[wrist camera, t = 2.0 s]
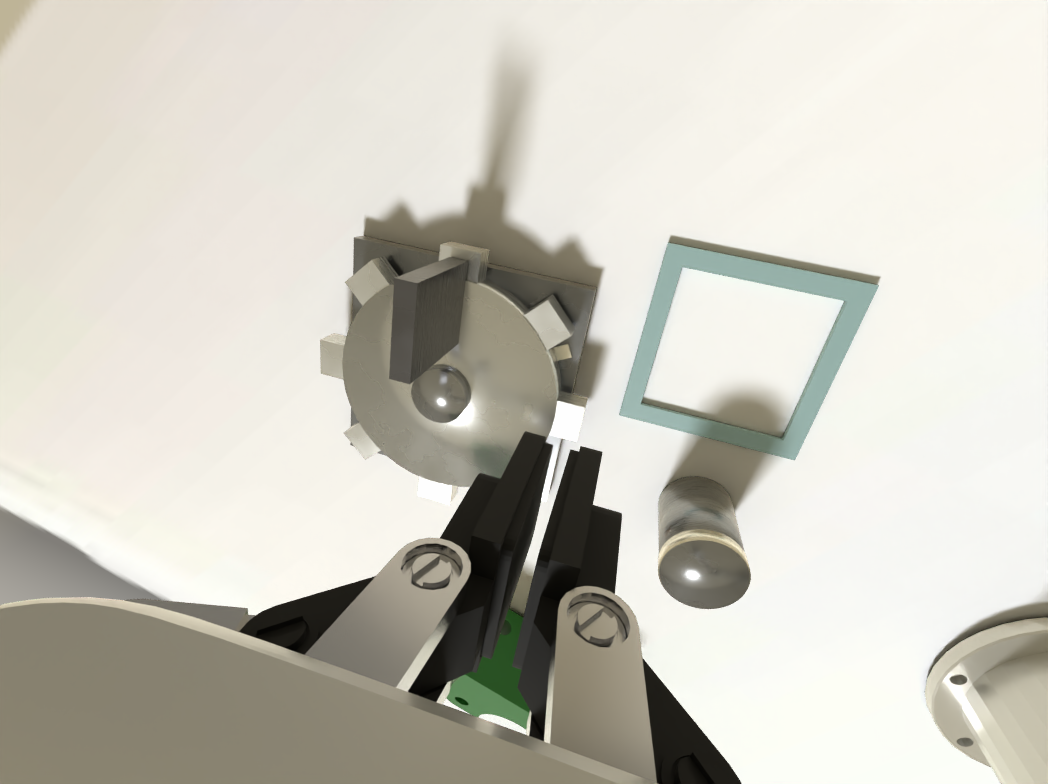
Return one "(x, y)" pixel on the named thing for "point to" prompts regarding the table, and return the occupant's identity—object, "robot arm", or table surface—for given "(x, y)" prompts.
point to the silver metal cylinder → (700, 545)
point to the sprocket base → (519, 284)
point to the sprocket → (450, 370)
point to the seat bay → (760, 272)
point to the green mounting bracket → (495, 680)
